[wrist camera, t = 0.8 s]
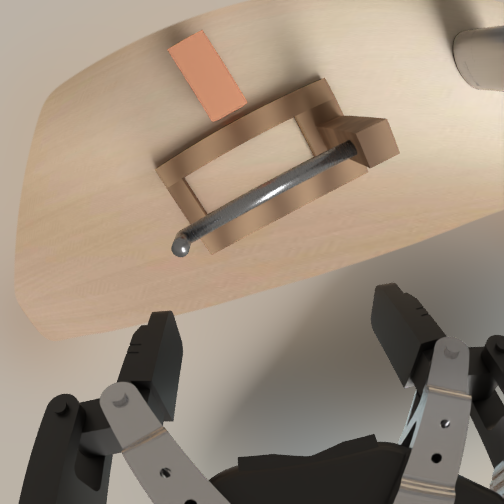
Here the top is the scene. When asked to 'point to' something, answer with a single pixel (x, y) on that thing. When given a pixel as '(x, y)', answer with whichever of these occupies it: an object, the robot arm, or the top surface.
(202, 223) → the hook arm
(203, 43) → the salmon wooden arch
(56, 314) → the top surface
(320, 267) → the top surface
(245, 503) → the robot arm
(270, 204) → the wooden hook stand
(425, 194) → the top surface
